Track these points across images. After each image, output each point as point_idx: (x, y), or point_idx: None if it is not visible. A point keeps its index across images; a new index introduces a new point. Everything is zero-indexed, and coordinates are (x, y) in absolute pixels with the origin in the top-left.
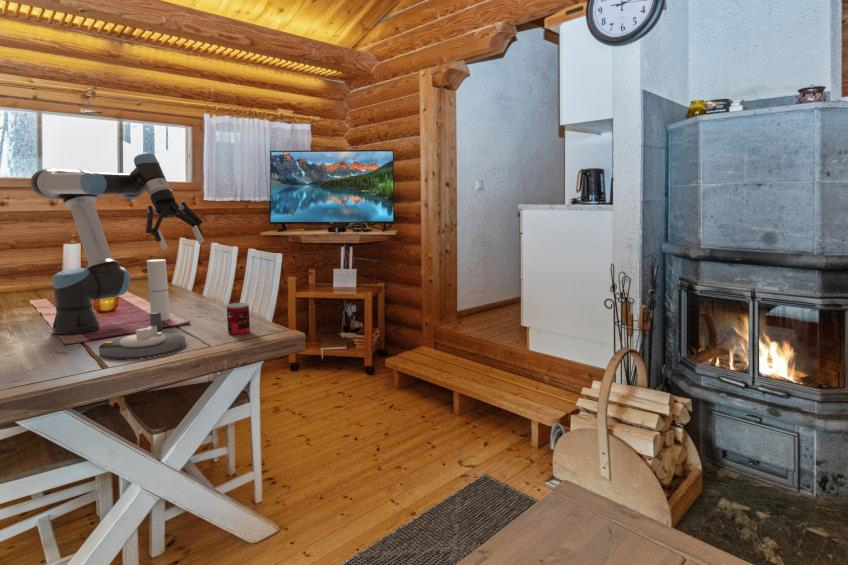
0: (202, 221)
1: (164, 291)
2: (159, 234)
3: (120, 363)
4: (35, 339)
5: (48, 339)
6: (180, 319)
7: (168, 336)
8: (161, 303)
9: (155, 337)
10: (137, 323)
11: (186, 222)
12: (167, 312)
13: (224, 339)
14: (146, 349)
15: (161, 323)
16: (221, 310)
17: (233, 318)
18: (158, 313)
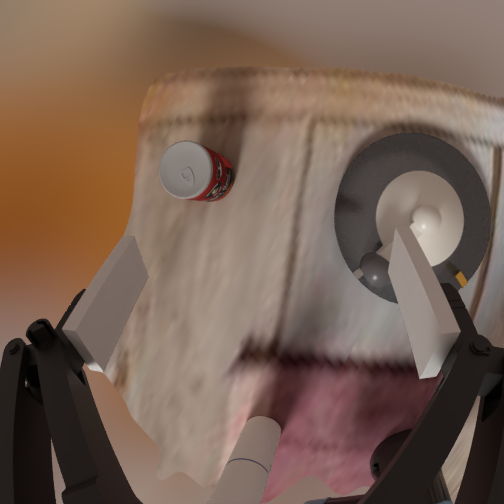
0: (7, 345)
1: (241, 457)
2: (446, 310)
3: (477, 152)
4: (471, 435)
5: (465, 423)
6: (235, 400)
7: (360, 228)
8: (258, 440)
9: (401, 204)
10: (312, 434)
11: (102, 426)
12: (251, 425)
13: (263, 150)
14: (435, 159)
15: (365, 258)
16: (142, 395)
17: (218, 157)
18: (374, 263)
